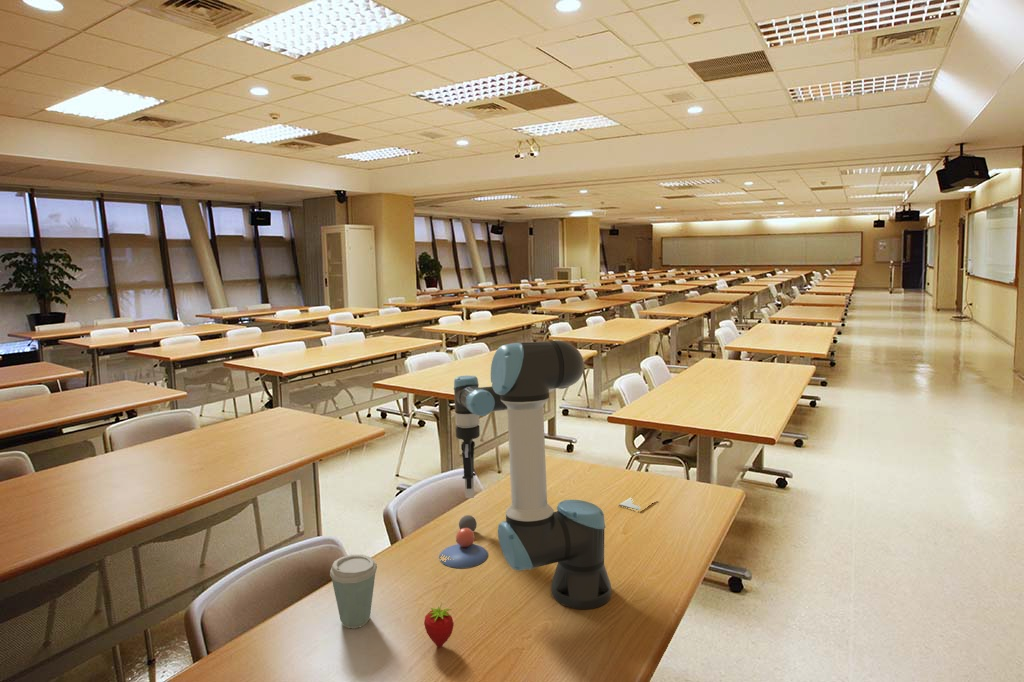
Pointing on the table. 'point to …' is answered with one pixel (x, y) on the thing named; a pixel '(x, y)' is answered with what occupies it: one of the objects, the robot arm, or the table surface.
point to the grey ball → (468, 522)
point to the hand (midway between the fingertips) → (469, 497)
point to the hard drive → (630, 504)
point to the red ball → (465, 537)
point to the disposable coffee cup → (354, 588)
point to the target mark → (464, 556)
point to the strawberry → (439, 625)
